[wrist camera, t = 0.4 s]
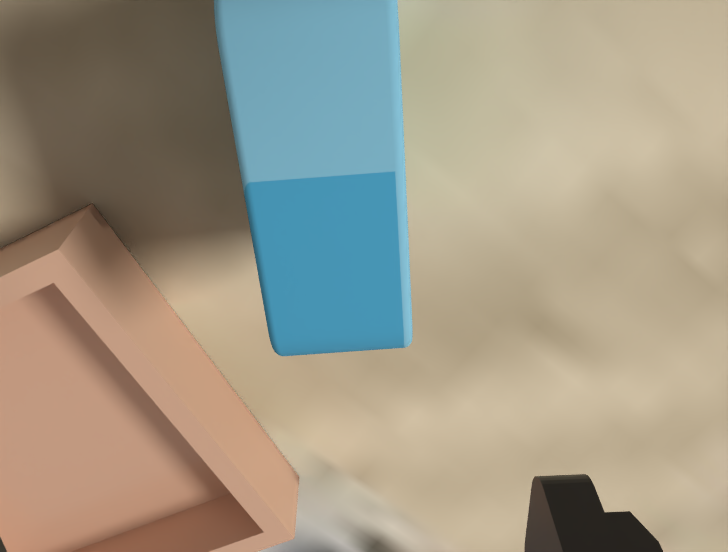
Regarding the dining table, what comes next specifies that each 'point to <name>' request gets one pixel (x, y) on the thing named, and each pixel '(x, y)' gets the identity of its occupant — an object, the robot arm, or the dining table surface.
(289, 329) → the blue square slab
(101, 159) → the dining table surface
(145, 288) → the planter saucer
